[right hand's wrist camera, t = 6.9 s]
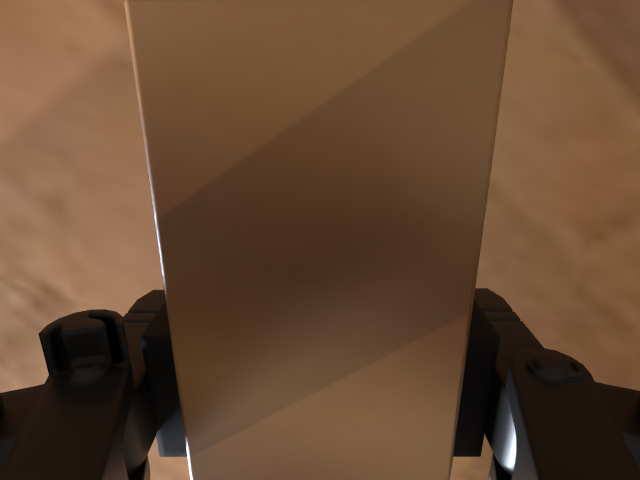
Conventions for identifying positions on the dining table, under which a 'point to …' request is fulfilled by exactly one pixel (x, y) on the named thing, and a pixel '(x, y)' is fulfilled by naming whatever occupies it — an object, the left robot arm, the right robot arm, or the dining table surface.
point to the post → (319, 223)
